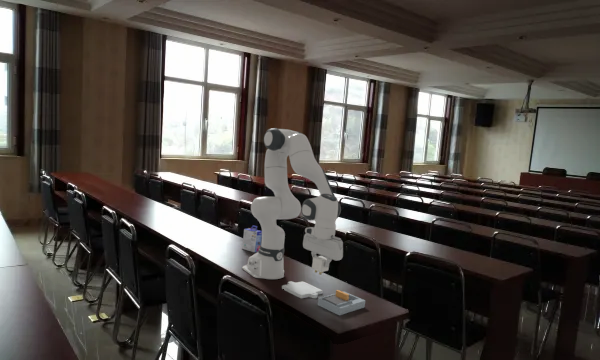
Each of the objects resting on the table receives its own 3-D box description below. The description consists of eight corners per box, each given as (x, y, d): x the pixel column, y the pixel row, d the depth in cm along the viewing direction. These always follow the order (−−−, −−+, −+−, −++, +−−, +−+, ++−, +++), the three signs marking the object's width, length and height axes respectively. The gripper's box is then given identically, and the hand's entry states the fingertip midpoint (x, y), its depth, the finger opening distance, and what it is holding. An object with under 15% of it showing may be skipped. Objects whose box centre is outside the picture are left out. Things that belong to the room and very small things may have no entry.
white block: (311, 271, 185) (313, 257, 184) (319, 270, 188) (321, 255, 187) (319, 275, 181) (321, 260, 180) (327, 273, 185) (329, 259, 184)
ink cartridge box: (260, 251, 254) (263, 227, 253) (255, 253, 249) (257, 228, 248) (247, 247, 259) (249, 223, 258) (241, 249, 254) (244, 225, 253)
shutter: (323, 299, 180) (324, 292, 180) (336, 296, 186) (337, 289, 185) (336, 305, 175) (337, 298, 175) (349, 301, 180) (350, 295, 180)
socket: (317, 305, 181) (318, 296, 181) (342, 297, 193) (343, 289, 193) (339, 315, 173) (340, 306, 173) (364, 307, 185) (365, 298, 184)
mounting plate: (278, 287, 198) (278, 283, 198) (299, 283, 207) (299, 279, 207) (305, 301, 185) (305, 297, 185) (326, 296, 194) (326, 292, 194)
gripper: (348, 238, 177) (343, 271, 179) (312, 226, 192) (308, 256, 193) (338, 239, 173) (333, 273, 174) (302, 227, 187) (298, 258, 189)
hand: (320, 264), depth 184 cm, fingers closed on white block, 5 cm apart
